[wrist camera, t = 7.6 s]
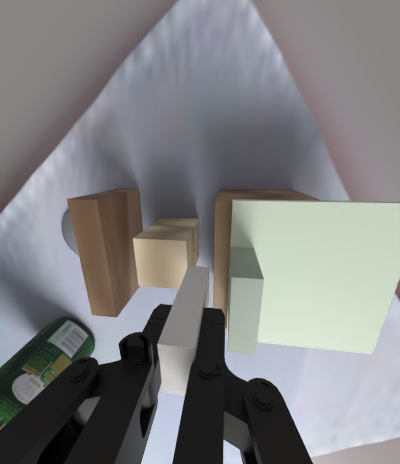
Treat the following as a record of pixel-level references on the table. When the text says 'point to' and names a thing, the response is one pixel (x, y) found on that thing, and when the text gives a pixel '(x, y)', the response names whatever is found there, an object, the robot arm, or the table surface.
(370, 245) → the cover
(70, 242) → the grey round disc
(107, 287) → the brown and beige stand
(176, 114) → the table surface
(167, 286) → the block
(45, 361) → the coffee jar
